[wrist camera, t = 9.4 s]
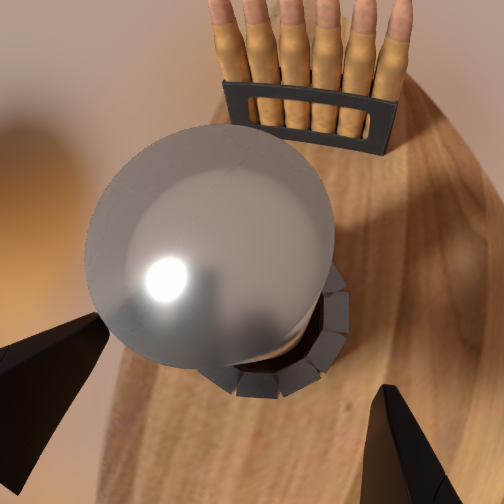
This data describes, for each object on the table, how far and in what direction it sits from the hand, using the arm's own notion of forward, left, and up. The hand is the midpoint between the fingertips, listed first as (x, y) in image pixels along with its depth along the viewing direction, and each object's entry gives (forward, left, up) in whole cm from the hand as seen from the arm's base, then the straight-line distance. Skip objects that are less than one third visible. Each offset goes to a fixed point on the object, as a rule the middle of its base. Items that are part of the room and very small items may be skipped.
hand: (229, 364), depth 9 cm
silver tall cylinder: (+1, +2, -8) cm, 8 cm away
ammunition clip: (+10, +11, -8) cm, 17 cm away
